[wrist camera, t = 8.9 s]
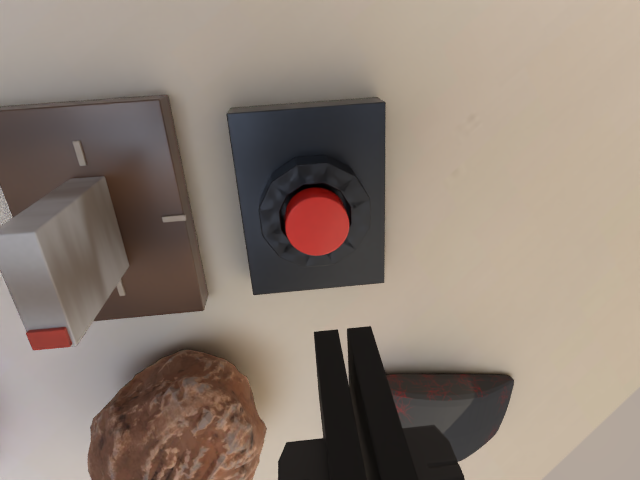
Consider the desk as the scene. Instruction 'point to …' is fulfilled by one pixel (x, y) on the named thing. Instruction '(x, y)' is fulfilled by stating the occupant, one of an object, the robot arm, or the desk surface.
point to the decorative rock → (179, 424)
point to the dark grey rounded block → (453, 405)
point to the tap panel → (114, 189)
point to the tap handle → (63, 261)
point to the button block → (306, 172)
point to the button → (316, 221)
